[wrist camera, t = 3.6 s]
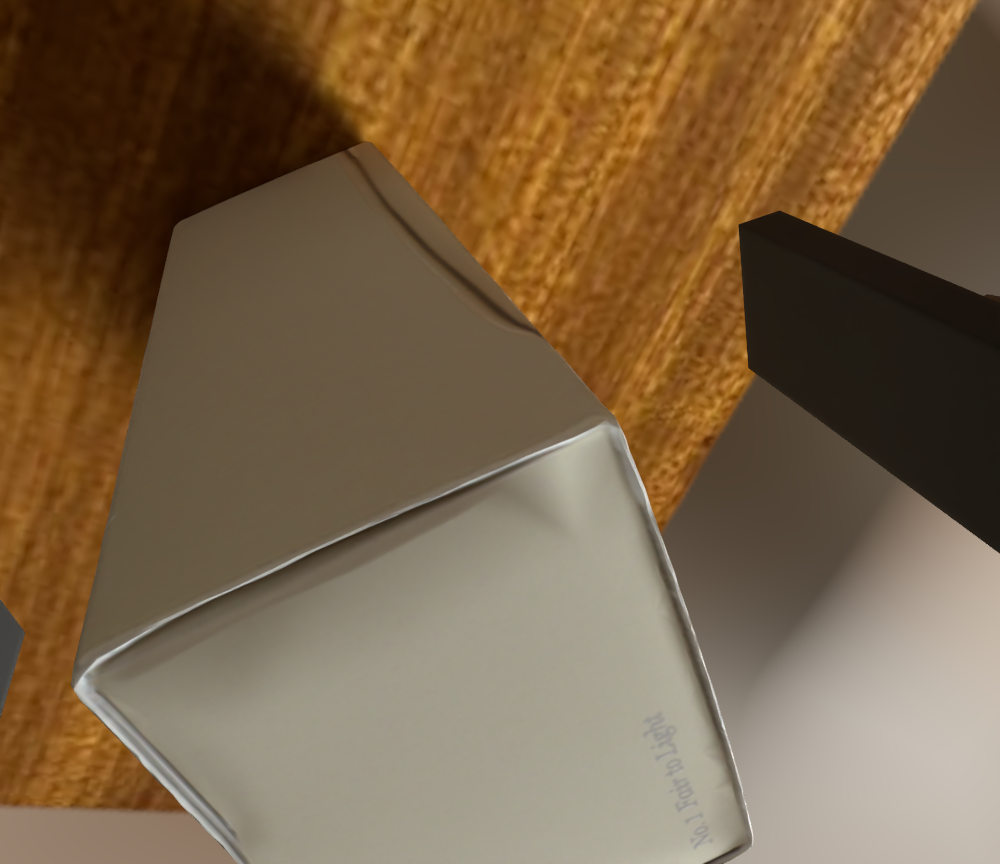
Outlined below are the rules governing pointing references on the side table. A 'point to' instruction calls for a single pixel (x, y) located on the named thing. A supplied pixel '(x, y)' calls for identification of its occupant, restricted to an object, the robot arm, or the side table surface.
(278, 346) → the cosmetic box
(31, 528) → the side table surface
